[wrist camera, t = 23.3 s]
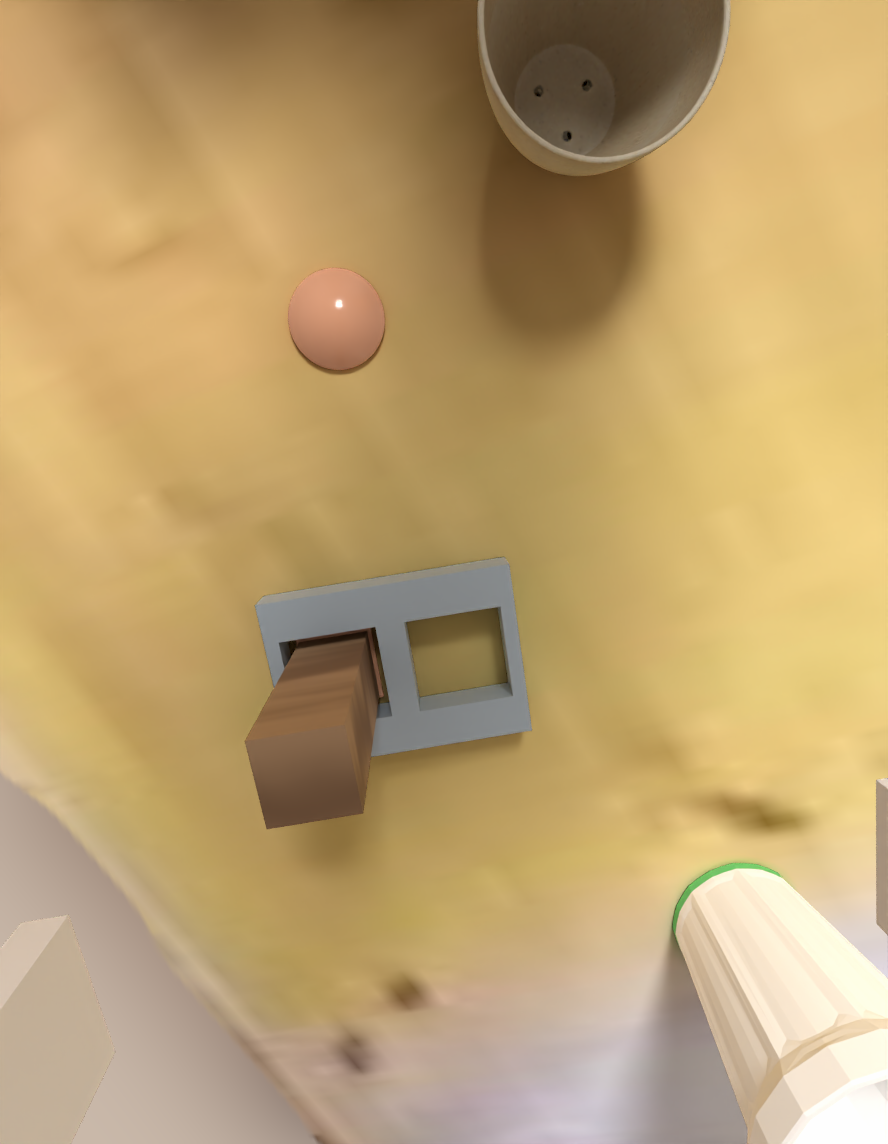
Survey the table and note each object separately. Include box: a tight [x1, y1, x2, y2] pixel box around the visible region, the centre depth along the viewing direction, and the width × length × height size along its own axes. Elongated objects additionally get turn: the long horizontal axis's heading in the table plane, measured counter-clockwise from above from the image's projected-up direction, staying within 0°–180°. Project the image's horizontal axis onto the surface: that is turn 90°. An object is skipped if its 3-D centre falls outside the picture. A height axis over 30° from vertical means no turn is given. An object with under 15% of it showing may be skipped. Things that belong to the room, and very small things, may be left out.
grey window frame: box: [255, 557, 532, 757], centre depth 36 cm, size 10×14×2 cm
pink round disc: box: [288, 268, 385, 370], centre depth 33 cm, size 5×5×1 cm
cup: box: [672, 863, 888, 1144], centre depth 35 cm, size 12×12×15 cm
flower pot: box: [477, 0, 730, 176], centre depth 28 cm, size 10×10×7 cm
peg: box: [245, 631, 379, 829], centre depth 31 cm, size 4×4×12 cm
